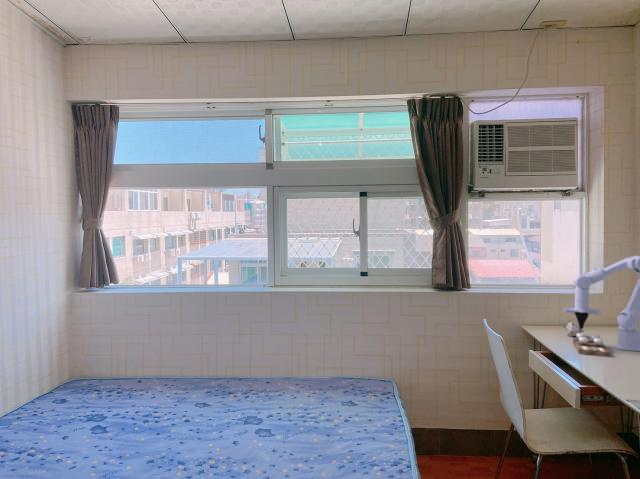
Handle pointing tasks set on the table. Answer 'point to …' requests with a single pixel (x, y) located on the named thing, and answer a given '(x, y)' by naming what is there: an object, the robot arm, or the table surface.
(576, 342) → the button board
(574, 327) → the game die
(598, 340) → the button
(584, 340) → the button
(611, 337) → the table surface
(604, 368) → the table surface
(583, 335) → the back left button
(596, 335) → the button
